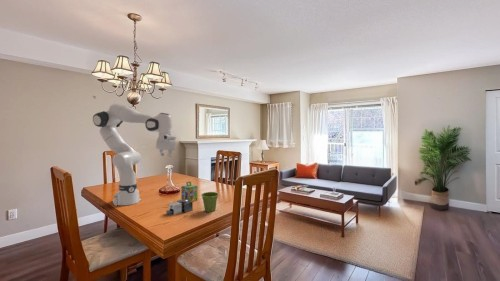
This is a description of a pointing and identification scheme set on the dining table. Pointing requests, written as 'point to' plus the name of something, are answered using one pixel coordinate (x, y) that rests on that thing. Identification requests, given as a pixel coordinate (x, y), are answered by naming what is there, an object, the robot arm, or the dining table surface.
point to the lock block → (176, 207)
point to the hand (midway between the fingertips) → (165, 156)
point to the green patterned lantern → (189, 192)
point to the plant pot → (210, 201)
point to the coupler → (183, 206)
